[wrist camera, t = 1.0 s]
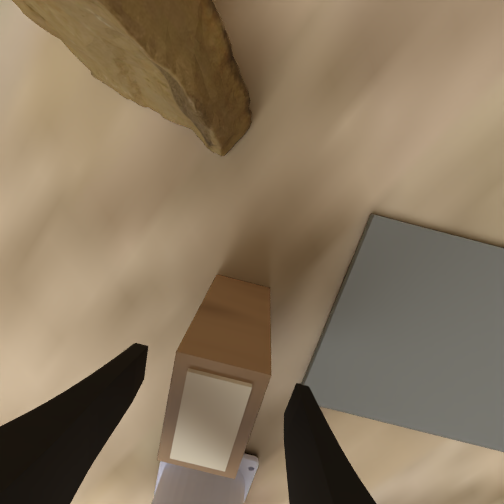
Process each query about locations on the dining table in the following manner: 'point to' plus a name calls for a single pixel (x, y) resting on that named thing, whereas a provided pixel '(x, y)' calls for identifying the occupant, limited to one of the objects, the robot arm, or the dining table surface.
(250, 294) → the walnut block
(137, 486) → the dining table surface
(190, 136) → the dining table surface
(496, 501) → the dining table surface
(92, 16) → the rock
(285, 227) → the dining table surface
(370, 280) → the rubber mat
